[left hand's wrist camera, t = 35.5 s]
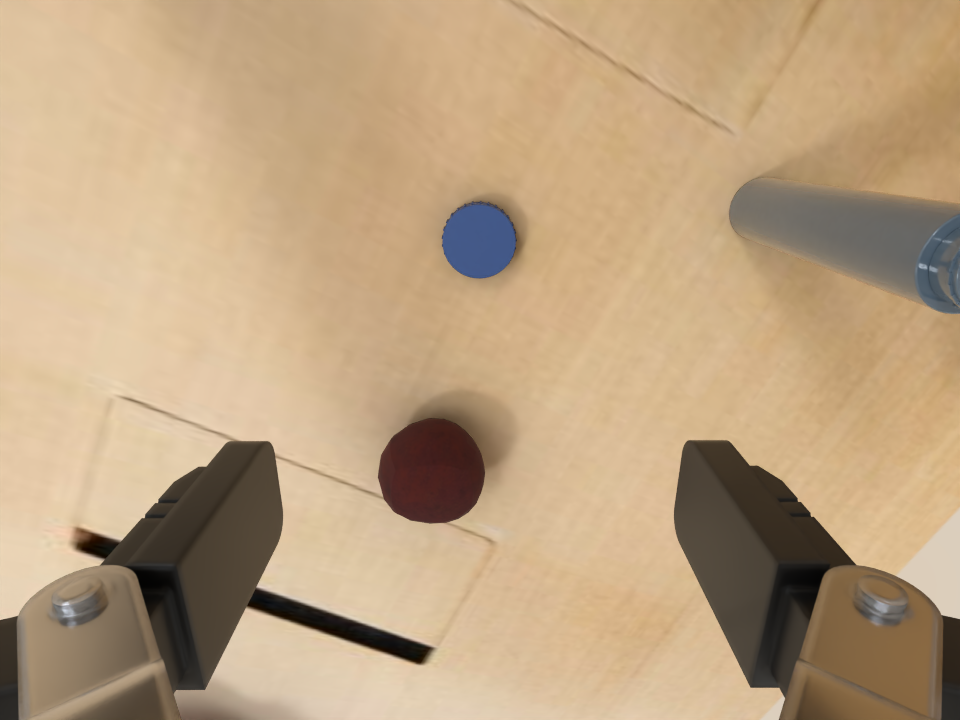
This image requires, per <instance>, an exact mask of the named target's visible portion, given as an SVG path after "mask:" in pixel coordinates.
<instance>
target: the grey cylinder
mask: <svg viewBox="0 0 960 720" xmlns="http://www.w3.org/2000/svg"><path fill="white" fill-rule="evenodd" d="M729 217H730V222H731V225H732V227H733V229H734V230H735V231H736V233H737V234H739V235H740V236H742V237H743V238H746V239H748V240H751V241H754V242H756V243H759V244H761V245H764V246H767V247H769V248H772V249H775V250H777V251H780V252H783V253H785V254H788V255H791V256H793V257H796V258H798V259H801V260H804V261H806V262H809V263H812V264H814V265H817V266H820V267H822V268H825V269H828V270H830V271H833V272H835V273H838V274H841V275H843V276H846V277H849V278H851V279H854V280H857V281H859V282H862V283H865V284H867V285H870V286H872V287H875V288H878V289H880V290H883V291H886V292H888V293H891V294H894V295H896V296H899V297H901V298H904V299H907V300H909V301H912V302H915V303H917V304H920V305H923V306H925V307H928V308H931V309H933V310H936V311H938V312H942V313H948V314H960V203H954V202H947V201H940V200H932V199H925V198H918V197H910V196H903V195H896V194H888V193H881V192H873V191H866V190H859V189H851V188H844V187H837V186H829V185H822V184H815V183H807V182H800V181H793V180H785V179H778V178H771V177H761V178H757V179H754V180H751V181H749V182H748V183H746V184H745V185H743V186H742V187H741V188H740V189H739V190H738V192H737V193H736V194H735V196H734V198H733V200H732V202H731V206H730V211H729Z"/></svg>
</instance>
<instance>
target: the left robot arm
mask: <svg viewBox="0 0 960 720" xmlns="http://www.w3.org/2000/svg"><path fill="white" fill-rule="evenodd" d="M797 499H798V498H797V497H796V496H795V495H794V494H793V493H792V492H791V490H790V489H789V488H788V487H787V486H786V485H785V484H784V482H783V481H782V480H780V479H778V478H777V477H775V476H773V475H772V474H770V473H769V472H767V471H765V470H764V469H762V468H761V467H759V466H750V465H749V464H748V463H747V462H746V461H745V459H744V458H743V457H742V456H741V454H740V453H739V452H738V451H737V450H736V448H735V447H734V446H733V445H732V444H731V443H730V442H729V441H727V440H689V441H687V442H686V443H685V445H684V447H683V451H682V458H681V465H680V472H679V479H678V486H677V493H676V500H675V508H674V523H675V530H676V534H677V538H678V541H679V543H680V545H681V547H682V549H683V551H684V553H685V555H686V557H687V559H688V561H689V563H690V565H691V567H692V569H693V571H694V574H695V576H696V578H697V580H698V582H699V584H700V586H701V588H702V590H703V592H704V594H705V596H706V598H707V600H708V602H709V604H710V606H711V608H712V610H713V612H714V614H715V616H716V618H717V620H718V622H719V624H720V626H721V628H722V630H723V632H724V634H725V636H726V638H727V641H728V643H729V645H730V647H731V649H732V651H733V653H734V655H735V657H736V659H737V661H738V663H739V665H740V667H741V669H742V671H743V673H744V675H745V677H746V679H747V681H748V683H749V685H750V687H751V688H780V690H781V692H782V693H783V695H784V697H785V701H784V704H783V708H782V711H781V714H780V718H779V720H960V619H956V618H952V617H947V616H943V615H941V613H940V611H939V610H938V608H937V607H936V605H935V604H934V603H933V602H932V601H931V600H930V599H929V598H928V597H927V596H926V595H925V594H924V593H923V592H921V591H920V590H919V589H917V588H916V587H914V586H913V585H911V584H910V583H908V582H906V581H904V580H902V579H900V578H898V577H896V576H894V575H892V574H889V573H887V572H884V571H881V570H878V569H874V568H870V567H866V566H858V565H856V564H855V563H854V562H853V561H852V560H851V558H850V557H849V556H848V555H847V554H846V553H845V552H844V551H843V549H842V548H841V547H840V546H839V545H838V544H837V543H836V541H835V540H834V539H833V538H832V537H831V536H830V535H829V534H828V532H827V531H826V530H825V529H824V528H823V527H822V526H821V524H820V523H819V522H818V521H817V520H816V519H815V518H814V517H811V515H810V512H809V511H808V510H807V509H806V507H805V506H804V505H803V504H802V503H801V502H798V500H797ZM282 525H283V508H282V501H281V494H280V487H279V480H278V473H277V466H276V459H275V453H274V449H273V446H272V444H271V443H270V442H268V441H230V442H227V443H226V444H225V445H224V446H223V448H222V449H221V450H220V451H219V452H218V454H217V455H216V456H215V457H214V458H213V460H212V461H211V462H210V463H209V464H208V466H207V467H198V468H196V469H194V470H193V471H191V472H189V473H188V474H186V475H185V476H183V477H181V478H180V479H178V480H177V481H175V482H174V483H173V484H172V485H171V486H170V487H169V488H168V489H167V491H166V492H165V493H164V494H163V495H162V496H161V497H160V498H159V501H158V503H155V504H154V505H153V506H152V507H151V509H150V510H149V511H148V512H147V513H146V514H145V518H142V519H141V520H140V521H139V522H138V523H137V524H136V525H135V527H134V528H133V529H132V530H131V531H130V532H129V533H128V534H127V536H126V537H125V538H124V539H123V540H122V541H121V542H120V543H119V545H118V546H117V547H116V548H115V549H114V550H113V551H112V552H111V554H110V555H109V556H108V557H107V558H106V559H105V560H104V561H103V563H102V564H101V565H100V566H94V567H90V568H86V569H82V570H79V571H76V572H73V573H71V574H68V575H66V576H64V577H62V578H60V579H57V580H56V581H54V582H52V583H50V584H49V585H47V586H46V587H44V588H43V589H41V590H40V591H39V592H37V593H36V594H35V595H34V596H33V597H32V598H31V599H30V600H29V601H28V602H27V603H26V604H25V605H24V607H23V608H22V610H21V611H20V613H19V616H16V617H12V618H8V619H3V620H0V720H181V718H180V714H179V711H178V708H177V704H176V701H175V698H174V692H175V691H176V690H205V689H206V687H207V685H208V683H209V681H210V679H211V677H212V675H213V673H214V671H215V669H216V667H217V665H218V662H219V660H220V658H221V656H222V654H223V652H224V650H225V648H226V646H227V644H228V642H229V640H230V638H231V636H232V634H233V632H234V630H235V628H236V626H237V624H238V622H239V620H240V618H241V616H242V614H243V612H244V610H245V608H246V606H247V604H248V602H249V600H250V598H251V596H252V594H253V592H254V590H255V588H256V586H257V584H258V582H259V580H260V578H261V576H262V574H263V572H264V570H265V568H266V566H267V564H268V562H269V560H270V558H271V556H272V554H273V552H274V550H275V548H276V546H277V544H278V542H279V539H280V536H281V531H282Z"/></svg>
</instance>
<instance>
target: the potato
mask: <svg viewBox="0 0 960 720" xmlns="http://www.w3.org/2000/svg"><path fill="white" fill-rule="evenodd" d="M484 477H485V469H484V464H483V460H482V456H481V453H480V450H479V448H478V447H477V445H476V443H475V442H474V440H473V439H472V438H471V436H470V435H469V434H468V433H467V432H466V431H465V430H464V429H462V428H461V427H460V426H458V425H457V424H455V423H453V422H450V421H448V420H445V419H432V418H429V419H426V420H422V421H419V422H416V423H413V424H410V425H409V426H407V427H406V428H404V429H403V430H401V431H400V432H399V433H397V434H396V435H394V436H393V437H392V439H391V440H390V442H389V443H388V445H387V446H386V448H385V450H384V451H383V453H382V454H381V460H380V466H379V473H378V479H379V482H380V486H381V490H382V493H383V497H384V500H385V501H386V502H387V504H388V505H389V506H390V507H391V509H392V510H393V511H394V512H395V513H397V514H399V515H401V516H403V517H405V518H407V519H409V520H411V521H417V522H424V523H447V522H450V521H453V520H456V519H459V518H460V517H462V516H463V515H465V514H466V513H468V512H469V511H470V510H471V509H472V508H473V507H474V505H475V504H476V503H477V500H478V498H479V496H480V494H481V491H482V488H483V484H484Z"/></svg>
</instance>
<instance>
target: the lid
mask: <svg viewBox="0 0 960 720" xmlns="http://www.w3.org/2000/svg"><path fill="white" fill-rule="evenodd" d="M446 223H447V225H446V227H444V229H443V231H444V233H443V236H442V239H443V244H442V247H443V249H444V254H445V256H446V258H447V260H448V262H449V263H450V264H451V265H452V267H453V268H454V269H456V270H457V271H458V272H460V273H461V274H463V275H465V276H468V277H472V278H487V277H490V276H493V275H495V274H497V273H499V272H500V271H502V270H503V269H504V268H505V267H506V266H507V265H508V264H509V262H510V261H511V259H512V257H513V254H514V251H515V249H516V247H515V245H516V241H517V240H516V237H515V233H516V231H515V229H513V223H512V222H511V221H510V220H509V216H508V215H506V214H505V213H504V211H503V209H502V210H501V209H499V208H498V207H497V205H495V206H494V205H492V204H489V202H488V203H484V202H481V201H480V202H472V203H470V204H467V205H466V204H464V206H462V207H461V208H457V211H455V212H454V213H452V214H451V217H450V219H449V220H447V222H446Z"/></svg>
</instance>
